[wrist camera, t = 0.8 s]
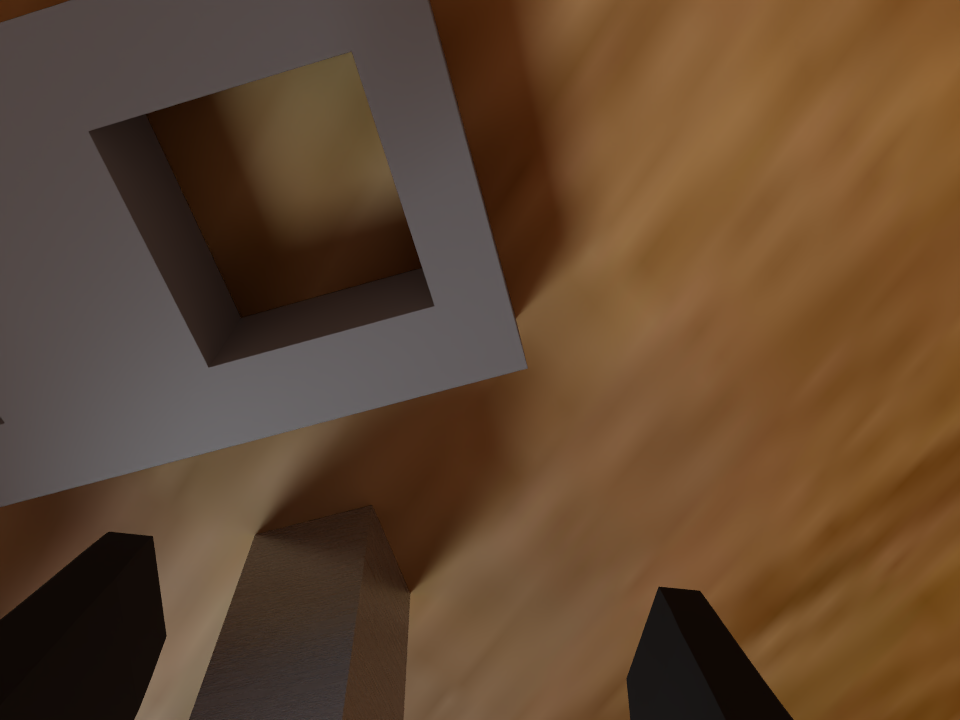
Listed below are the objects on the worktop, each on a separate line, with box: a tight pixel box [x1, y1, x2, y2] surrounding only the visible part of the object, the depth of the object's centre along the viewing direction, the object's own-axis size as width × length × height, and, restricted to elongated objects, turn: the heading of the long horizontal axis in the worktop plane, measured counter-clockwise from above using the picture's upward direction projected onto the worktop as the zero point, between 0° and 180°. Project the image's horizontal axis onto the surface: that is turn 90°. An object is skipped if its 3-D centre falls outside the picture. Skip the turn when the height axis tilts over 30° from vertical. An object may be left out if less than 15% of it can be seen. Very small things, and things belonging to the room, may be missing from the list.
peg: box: [189, 505, 410, 720], centre depth 20 cm, size 4×4×8 cm
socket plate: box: [0, 0, 528, 507], centre depth 17 cm, size 18×10×3 cm, turn 105°
